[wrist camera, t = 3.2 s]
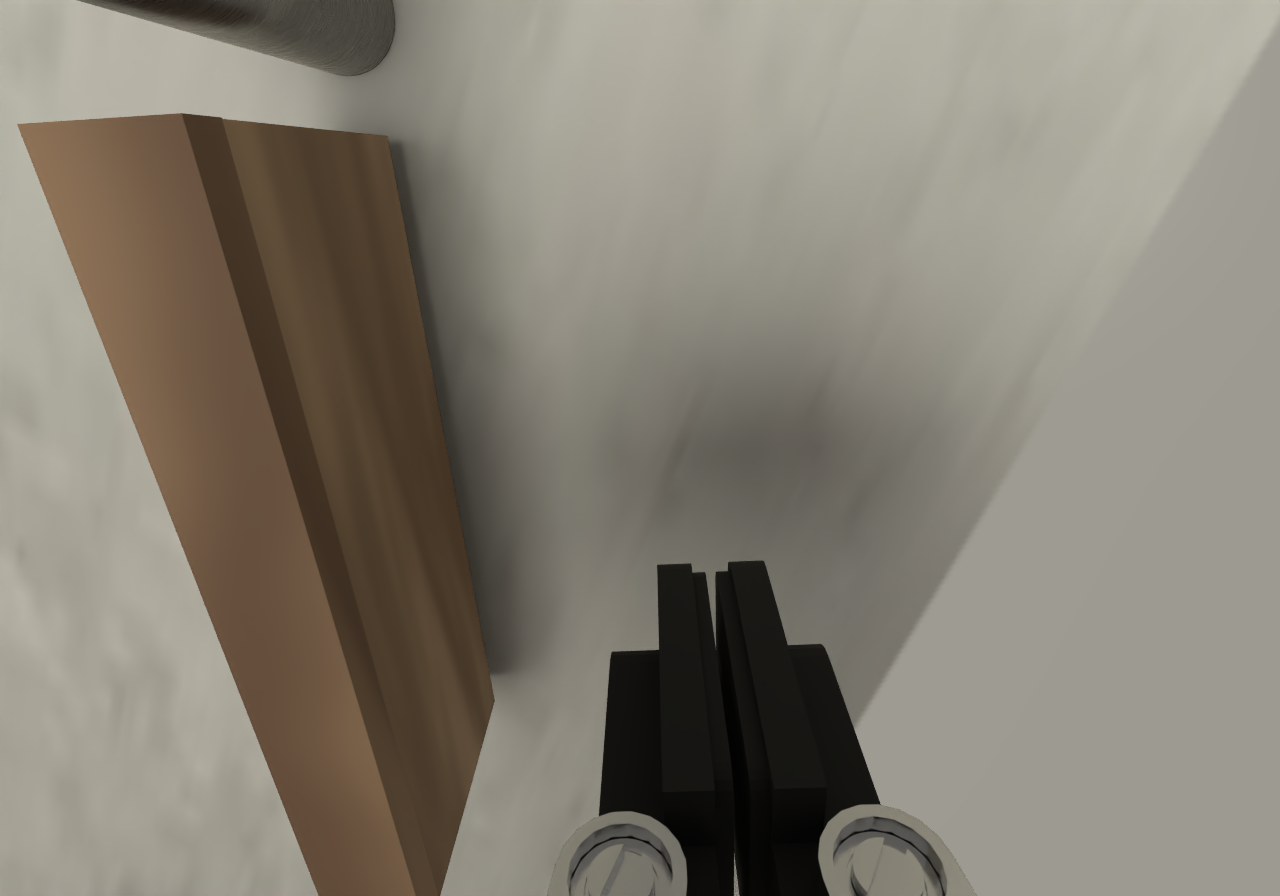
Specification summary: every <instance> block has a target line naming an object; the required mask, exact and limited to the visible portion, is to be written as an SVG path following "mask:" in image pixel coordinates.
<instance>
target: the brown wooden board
mask: <svg viewBox="0 0 1280 896" xmlns="http://www.w3.org/2000/svg"><path fill="white" fill-rule="evenodd" d="M17 125H18V127H19V130H20V132H21V135H22V138H23V140H24V143H25V145H26V148H27V150H28V153H29V156H30V158H31V161H32V163H33V166H34V168H35V171H36V173H37V176H38V179H39V181H40V184H41V186H42V189H43V191H44V194H45V196H46V199H47V202H48V204H49V207H50V209H51V212H52V214H53V217H54V219H55V222H56V225H57V227H58V230H59V232H60V235H61V237H62V240H63V243H64V245H65V248H66V250H67V253H68V255H69V258H70V260H71V263H72V266H73V268H74V271H75V273H76V276H77V278H78V281H79V283H80V286H81V289H82V291H83V294H84V296H85V299H86V301H87V304H88V306H89V309H90V312H91V314H92V317H93V319H94V322H95V324H96V327H97V330H98V332H99V335H100V337H101V340H102V342H103V345H104V347H105V350H106V353H107V355H108V358H109V360H110V363H111V365H112V368H113V370H114V373H115V376H116V378H117V381H118V383H119V386H120V388H121V391H122V393H123V396H124V399H125V401H126V404H127V406H128V409H129V411H130V414H131V417H132V419H133V422H134V424H135V427H136V429H137V432H138V434H139V437H140V440H141V442H142V445H143V447H144V450H145V452H146V455H147V457H148V460H149V463H150V465H151V468H152V470H153V473H154V475H155V478H156V480H157V483H158V486H159V488H160V491H161V493H162V496H163V498H164V501H165V504H166V506H167V509H168V511H169V514H170V516H171V519H172V521H173V524H174V527H175V529H176V532H177V534H178V537H179V539H180V542H181V544H182V547H183V550H184V552H185V555H186V557H187V560H188V562H189V565H190V567H191V570H192V573H193V575H194V578H195V580H196V583H197V585H198V588H199V591H200V593H201V596H202V598H203V601H204V603H205V606H206V608H207V611H208V614H209V616H210V619H211V621H212V624H213V626H214V629H215V631H216V634H217V637H218V639H219V642H220V644H221V647H222V649H223V652H224V654H225V657H226V660H227V662H228V665H229V667H230V670H231V672H232V675H233V678H234V680H235V683H236V685H237V688H238V690H239V693H240V695H241V698H242V701H243V703H244V706H245V708H246V711H247V713H248V716H249V718H250V721H251V724H252V726H253V729H254V731H255V734H256V736H257V739H258V741H259V744H260V747H261V749H262V752H263V754H264V757H265V759H266V762H267V765H268V767H269V770H270V772H271V775H272V777H273V780H274V782H275V785H276V788H277V790H278V793H279V795H280V798H281V800H282V803H283V805H284V808H285V811H286V813H287V816H288V818H289V821H290V823H291V826H292V828H293V831H294V834H295V836H296V839H297V841H298V844H299V846H300V849H301V852H302V854H303V857H304V859H305V862H306V864H307V867H308V869H309V872H310V875H311V877H312V880H313V882H314V885H315V887H316V890H317V892H318V895H319V896H440V894H441V890H442V887H443V883H444V880H445V876H446V873H447V869H448V866H449V862H450V858H451V855H452V851H453V848H454V844H455V841H456V837H457V833H458V830H459V826H460V823H461V819H462V816H463V812H464V808H465V805H466V801H467V798H468V794H469V791H470V787H471V783H472V780H473V776H474V773H475V769H476V766H477V762H478V758H479V755H480V751H481V748H482V744H483V741H484V737H485V734H486V730H487V726H488V723H489V719H490V716H491V712H492V709H493V705H494V701H495V700H494V695H493V689H492V684H491V679H490V674H489V668H488V663H487V658H486V652H485V647H484V642H483V637H482V631H481V626H480V621H479V616H478V610H477V605H476V600H475V595H474V589H473V584H472V579H471V574H470V568H469V563H468V558H467V553H466V547H465V542H464V537H463V532H462V526H461V521H460V516H459V510H458V505H457V500H456V495H455V489H454V484H453V479H452V474H451V468H450V463H449V458H448V453H447V447H446V442H445V437H444V432H443V426H442V421H441V416H440V411H439V405H438V400H437V395H436V390H435V384H434V379H433V374H432V368H431V363H430V358H429V353H428V347H427V342H426V337H425V332H424V326H423V321H422V316H421V311H420V305H419V300H418V295H417V290H416V284H415V279H414V274H413V269H412V263H411V258H410V253H409V248H408V242H407V237H406V232H405V226H404V221H403V216H402V211H401V205H400V200H399V195H398V190H397V184H396V179H395V174H394V169H393V163H392V158H391V153H390V148H389V142H388V137H387V136H381V135H371V134H362V133H352V132H343V131H333V130H323V129H314V128H304V127H294V126H285V125H275V124H265V123H256V122H246V121H237V120H227V119H222V118H220V117H211V116H201V115H192V114H183V113H180V114H165V115H149V116H134V117H119V118H104V119H89V120H73V121H58V122H43V123H28V124H17Z"/></svg>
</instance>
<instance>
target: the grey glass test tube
mask: <svg viewBox="0 0 1280 896" xmlns="http://www.w3.org/2000/svg"><path fill="white" fill-rule="evenodd" d="M78 1H81V2H85V3H88V4H92V5H95V6H99V7H102V8H106V9H109V10H113V11H116V12H120V13H123V14H127V15H130V16H134V17H137V18H141V19H144V20H148V21H151V22H155V23H158V24H162V25H165V26H169V27H172V28H176V29H179V30H183V31H186V32H190V33H193V34H197V35H200V36H204V37H207V38H211V39H214V40H218V41H221V42H225V43H228V44H232V45H235V46H239V47H242V48H246V49H249V50H253V51H256V52H260V53H263V54H267V55H270V56H274V57H277V58H281V59H284V60H288V61H291V62H295V63H298V64H302V65H305V66H309V67H312V68H316V69H319V70H323V71H326V72H329V73H333V74H337V75H343V76H354V75H359V74H363V73H365V72H368V71H369V70H371V69H373V68H374V67H375V66H377V65H378V64H379V63H380V62H381V61H382V59H383V58H384V57H385V55H386V54H387V52H388V50H389V48H390V45H391V42H392V39H393V34H394V25H395V19H394V9H393V4H392V0H78Z"/></svg>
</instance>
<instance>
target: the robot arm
mask: <svg viewBox="0 0 1280 896" xmlns="http://www.w3.org/2000/svg"><path fill="white" fill-rule="evenodd" d="M657 573H658V617H659V650H647V651H620V652H612V653H611V659H610V671H609V684H608V698H607V712H606V726H605V740H604V753H603V767H602V781H601V795H600V808H599V817H596V818H593V819H592V820H590V821H589V822H587V823H586V824H584V825H583V826H582V827H580V828H579V829H577V830H576V831H575V833H574V834H573V835H572V836H571V837H570V839H569V840H568V841H567V842H566V843H565V845H564V846H563V848H562V850H561V853H560V855H559V857H558V860H557V862H556V864H555V867H554V871H553V874H552V878H551V882H550V885H549V889H548V893H547V896H734V854H735V862H736V870H737V879H738V887H739V895H740V896H977V895H976V893H975V892H974V890H973V888H972V887H971V885H970V883H969V882H968V880H967V878H966V876H965V875H964V873H963V871H962V869H961V868H960V866H959V864H958V863H957V861H956V859H955V858H954V856H953V854H952V853H951V852H950V850H949V849H948V848H947V846H946V845H945V844H944V842H943V841H942V840H941V838H940V837H939V836H938V835H937V834H936V833H935V832H933V831H932V830H931V829H930V828H929V827H927V826H926V825H925V824H924V823H923V822H921V821H920V820H919V819H917V818H914V817H913V816H911V815H909V814H907V813H905V812H903V811H901V810H899V809H895V808H891V807H887V806H883V805H881V804H880V801H879V799H878V796H877V793H876V790H875V787H874V785H873V782H872V779H871V776H870V773H869V770H868V768H867V765H866V762H865V759H864V756H863V753H862V751H861V748H860V745H859V742H858V739H857V736H856V733H855V730H854V728H853V725H852V722H851V719H850V716H849V713H848V711H847V708H846V705H845V702H844V699H843V696H842V694H841V691H840V688H839V685H838V682H837V679H836V677H835V674H834V671H833V668H832V665H831V662H830V659H829V657H828V654H827V652H826V650H825V648H824V646H823V645H822V644H810V645H788V644H787V641H786V637H785V633H784V630H783V626H782V623H781V619H780V616H779V612H778V608H777V605H776V601H775V598H774V594H773V590H772V587H771V583H770V580H769V576H768V573H767V569H766V565H765V563H764V561H739V562H729V563H728V571H721V572H716V577H715V582H716V647H715V640H714V632H713V625H712V617H711V610H710V603H709V595H708V588H707V580H706V574H705V572H697V573H692V566H691V564H667V565H657Z"/></svg>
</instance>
